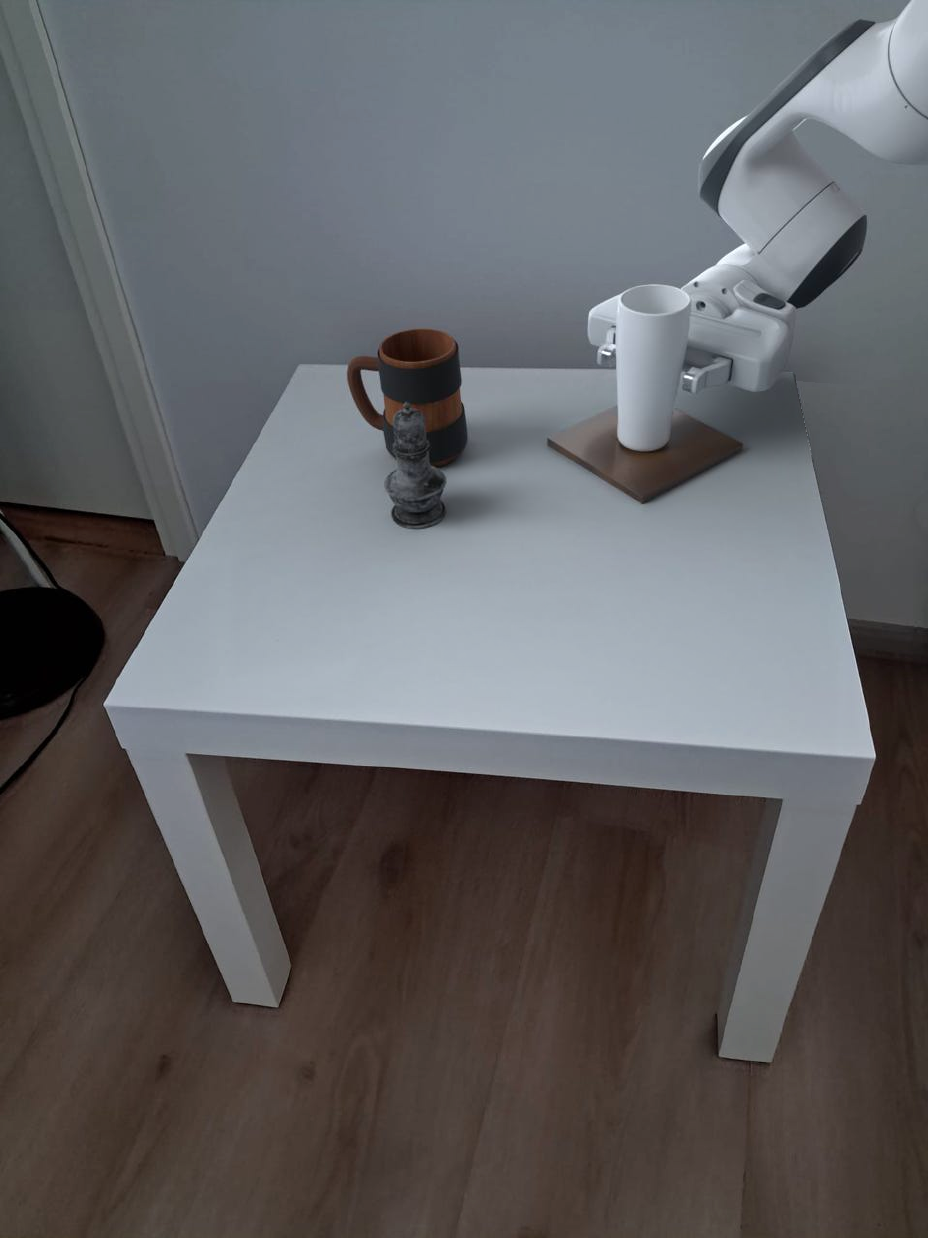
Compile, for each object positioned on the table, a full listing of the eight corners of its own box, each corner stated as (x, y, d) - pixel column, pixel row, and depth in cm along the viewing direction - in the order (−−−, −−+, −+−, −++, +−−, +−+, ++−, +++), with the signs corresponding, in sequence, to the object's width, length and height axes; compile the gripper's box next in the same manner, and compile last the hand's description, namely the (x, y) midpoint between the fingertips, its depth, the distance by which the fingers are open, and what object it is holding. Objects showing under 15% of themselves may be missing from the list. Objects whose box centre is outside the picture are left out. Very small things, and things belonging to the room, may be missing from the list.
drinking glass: (680, 425, 97) (696, 285, 87) (672, 461, 93) (688, 317, 83) (615, 419, 99) (623, 281, 89) (604, 454, 94) (612, 312, 84)
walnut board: (742, 450, 95) (743, 443, 94) (642, 504, 89) (642, 497, 89) (643, 398, 104) (644, 391, 103) (546, 444, 98) (546, 437, 97)
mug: (369, 422, 103) (355, 321, 95) (475, 429, 101) (470, 326, 93) (345, 465, 97) (327, 362, 89) (457, 474, 95) (450, 368, 87)
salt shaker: (384, 499, 92) (369, 389, 84) (443, 490, 93) (434, 381, 85) (392, 535, 88) (377, 423, 80) (453, 525, 88) (445, 413, 80)
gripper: (629, 266, 100) (555, 315, 93) (812, 310, 90) (747, 369, 83) (625, 322, 105) (555, 373, 97) (800, 370, 95) (737, 431, 87)
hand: (645, 371), depth 90 cm, fingers open, 8 cm apart
